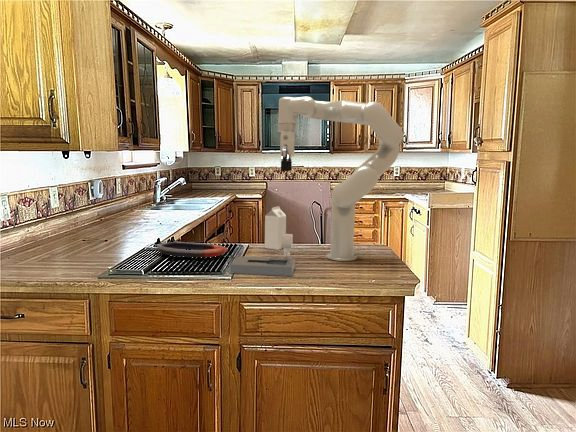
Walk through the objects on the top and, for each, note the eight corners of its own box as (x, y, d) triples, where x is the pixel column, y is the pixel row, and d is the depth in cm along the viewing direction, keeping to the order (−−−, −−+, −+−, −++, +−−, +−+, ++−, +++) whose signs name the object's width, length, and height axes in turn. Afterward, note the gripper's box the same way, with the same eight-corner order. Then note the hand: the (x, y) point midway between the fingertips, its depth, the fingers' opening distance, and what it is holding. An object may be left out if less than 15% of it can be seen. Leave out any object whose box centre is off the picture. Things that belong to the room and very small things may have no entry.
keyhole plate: (294, 267, 165) (295, 258, 164) (291, 276, 152) (291, 267, 151) (238, 264, 167) (238, 256, 166) (230, 273, 154) (230, 264, 154)
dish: (168, 249, 191) (168, 238, 190) (233, 255, 183) (233, 243, 182) (148, 257, 176) (148, 245, 175) (218, 263, 168) (218, 251, 167)
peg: (293, 260, 174) (293, 234, 173) (292, 263, 170) (292, 236, 168) (281, 260, 175) (281, 233, 173) (279, 263, 170) (280, 235, 169)
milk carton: (264, 248, 196) (265, 207, 194) (272, 245, 203) (272, 205, 200) (278, 250, 193) (278, 208, 190) (285, 247, 199) (286, 206, 197)
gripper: (294, 127, 167) (293, 171, 169) (298, 130, 184) (297, 170, 186) (275, 126, 167) (274, 171, 170) (281, 129, 184) (280, 169, 187)
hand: (286, 170), depth 178 cm, fingers open, 9 cm apart
